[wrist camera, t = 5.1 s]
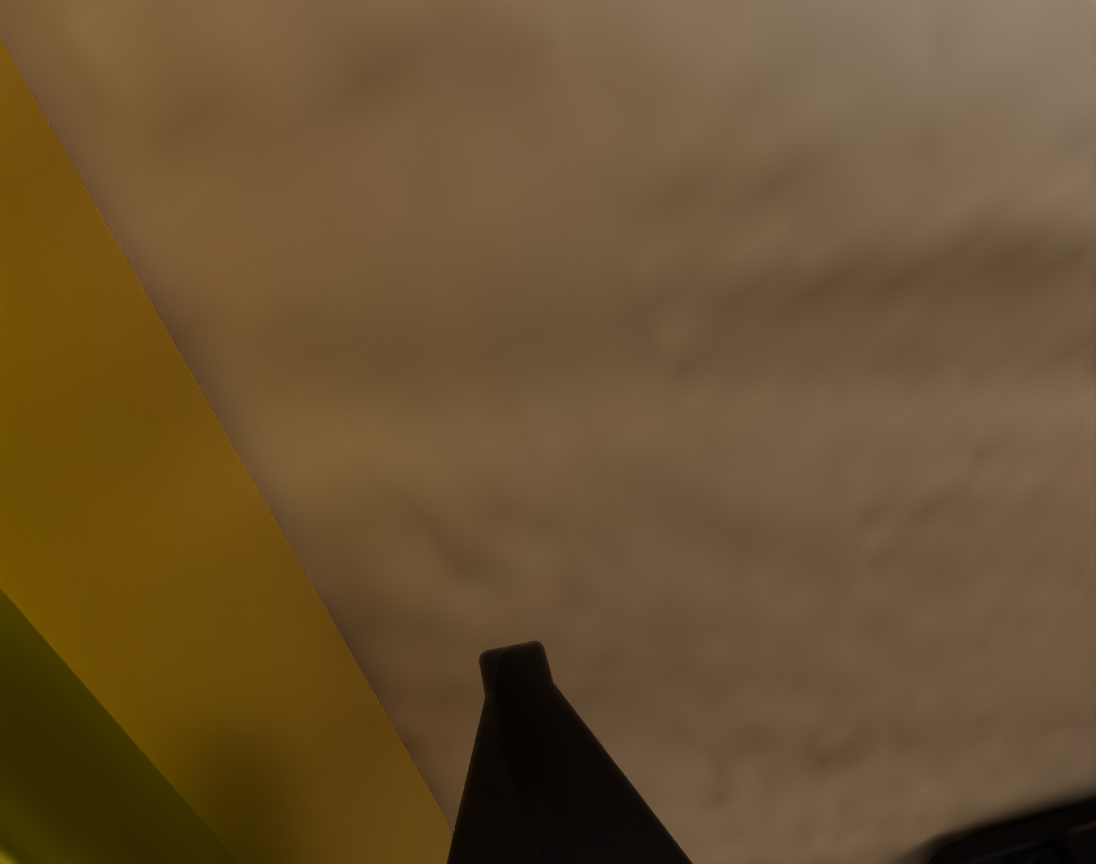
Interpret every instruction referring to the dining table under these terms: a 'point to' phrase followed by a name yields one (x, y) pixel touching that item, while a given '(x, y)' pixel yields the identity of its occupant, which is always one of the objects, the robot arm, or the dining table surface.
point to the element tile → (156, 587)
